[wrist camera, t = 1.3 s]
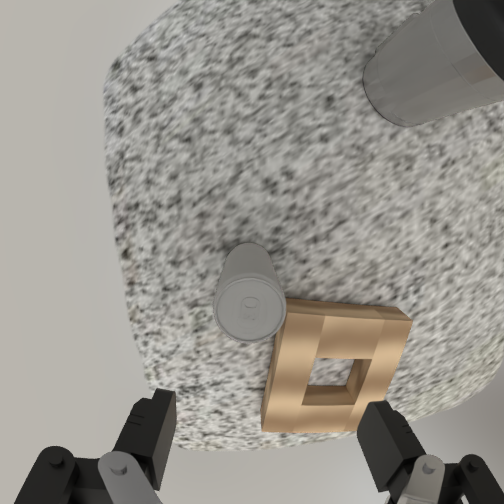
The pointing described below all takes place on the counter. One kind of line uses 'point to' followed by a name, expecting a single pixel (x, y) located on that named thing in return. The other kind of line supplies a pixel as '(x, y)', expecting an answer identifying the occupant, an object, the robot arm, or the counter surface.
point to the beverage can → (249, 296)
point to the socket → (330, 346)
